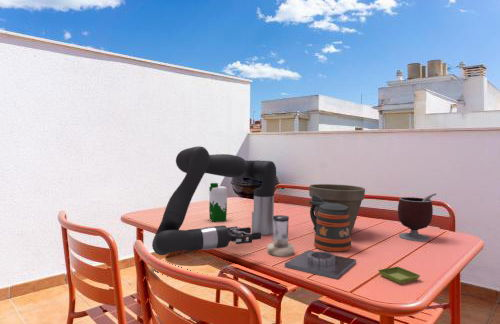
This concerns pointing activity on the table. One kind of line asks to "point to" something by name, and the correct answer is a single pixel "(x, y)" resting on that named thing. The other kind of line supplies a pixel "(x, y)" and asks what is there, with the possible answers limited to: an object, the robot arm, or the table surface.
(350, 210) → the plant pot
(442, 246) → the table surface
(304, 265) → the hub plate
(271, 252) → the pedestal
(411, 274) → the olive green shallow tray
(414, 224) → the mate gourd
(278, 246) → the glass jar with lid
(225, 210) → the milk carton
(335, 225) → the beer stein
